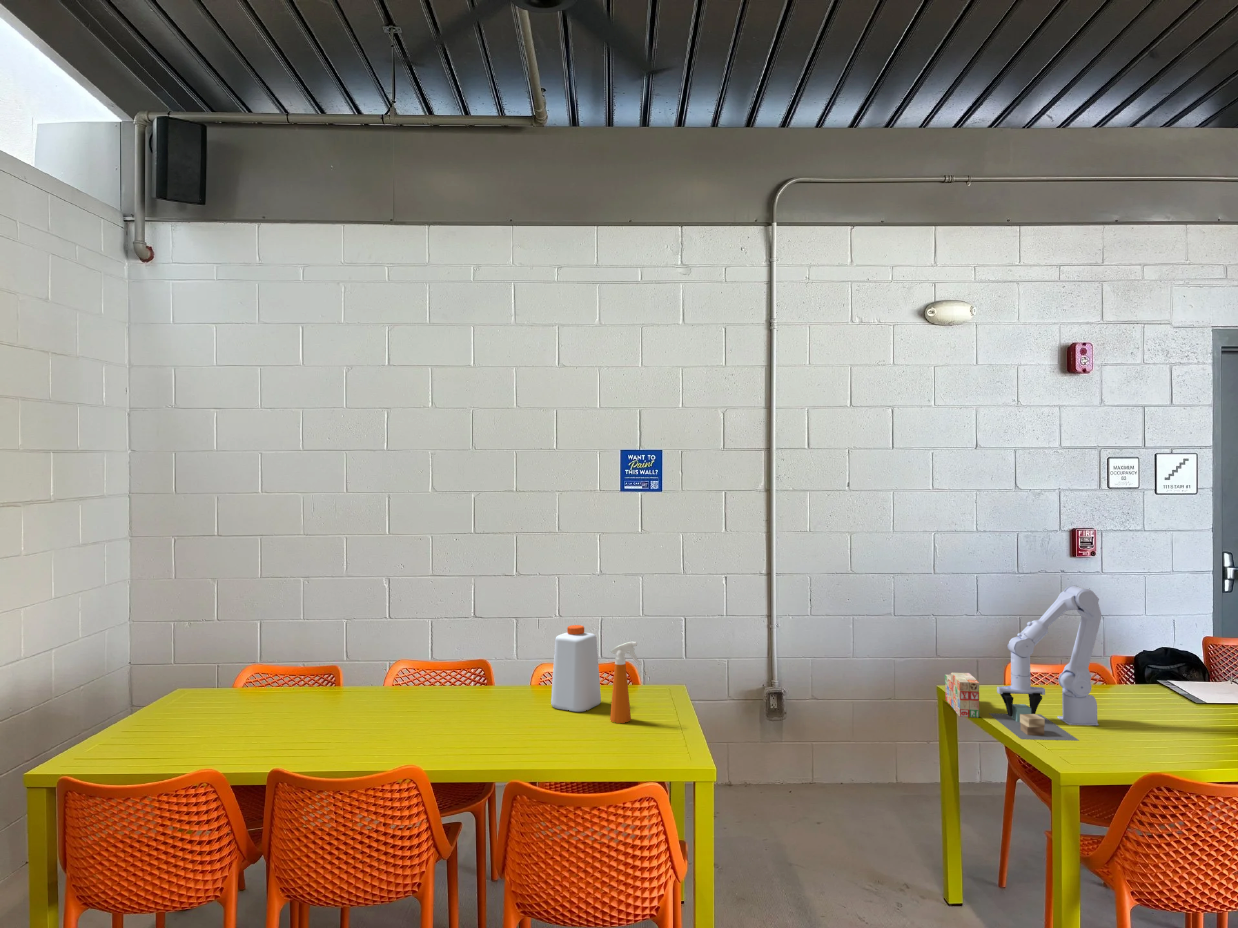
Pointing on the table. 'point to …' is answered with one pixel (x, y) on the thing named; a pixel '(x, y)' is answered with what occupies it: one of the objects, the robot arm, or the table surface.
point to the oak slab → (1032, 720)
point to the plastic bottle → (575, 671)
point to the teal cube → (1020, 711)
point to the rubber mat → (1049, 734)
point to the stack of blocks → (962, 694)
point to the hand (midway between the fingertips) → (1021, 715)
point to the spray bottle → (621, 684)
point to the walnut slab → (1032, 730)
